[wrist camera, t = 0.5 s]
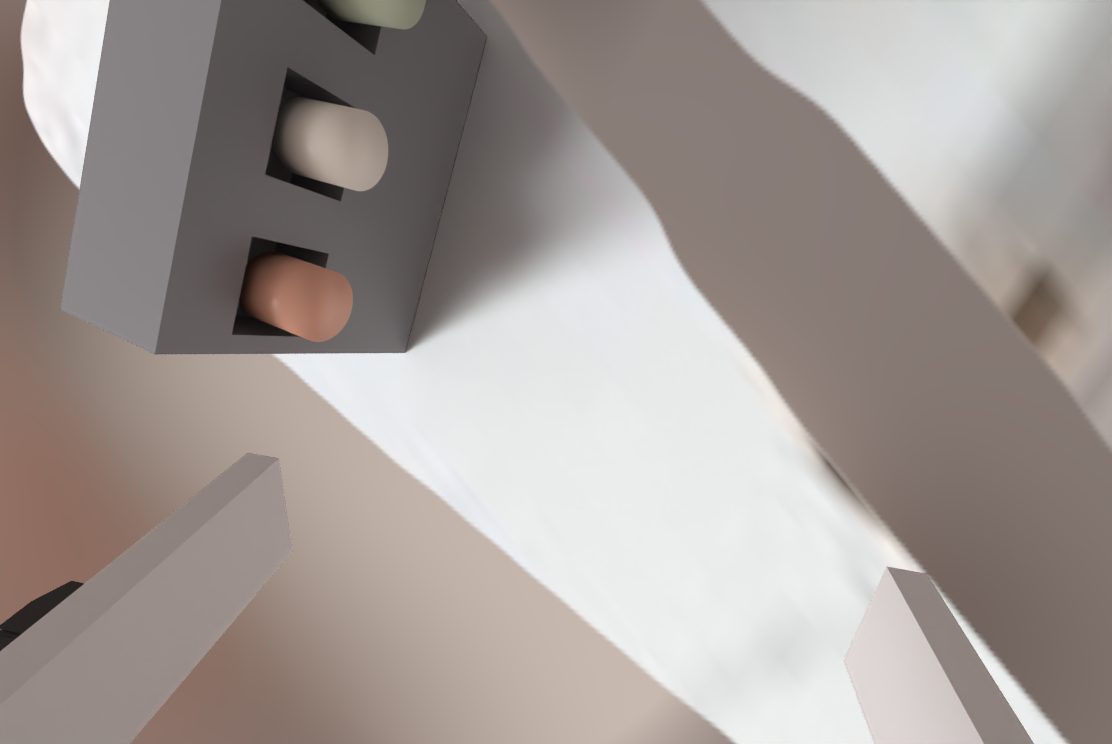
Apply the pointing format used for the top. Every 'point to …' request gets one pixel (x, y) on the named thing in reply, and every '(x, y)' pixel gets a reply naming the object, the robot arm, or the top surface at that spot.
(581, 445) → the top surface
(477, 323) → the top surface
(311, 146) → the cream button
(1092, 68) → the top surface
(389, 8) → the sage button
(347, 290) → the terracotta button
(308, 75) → the console
